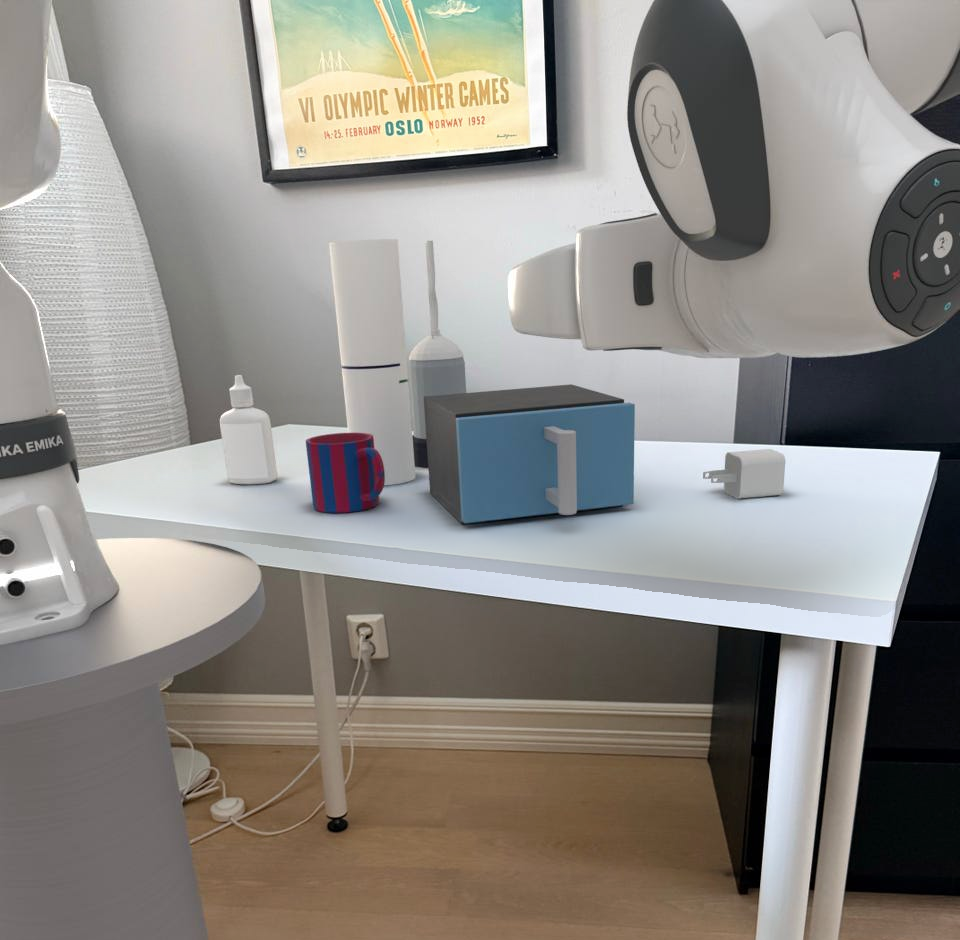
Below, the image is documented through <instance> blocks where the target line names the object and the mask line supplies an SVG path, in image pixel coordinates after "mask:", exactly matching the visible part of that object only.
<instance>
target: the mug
mask: <svg viewBox="0 0 960 940" xmlns="http://www.w3.org/2000/svg"><path fill="white" fill-rule="evenodd" d="M305 448H306V456H307V465H308V466H307V467H308V473H309V482H310V491H311V499H312V507H313V509H314V510H315V511H318V512H321V513H329V514H330V513H331V514H332V513H333V514H341V513H342V514H343V513H353V512H359V511H360V512H361V511H364V510H369V509H372V508H374V507H376V506H377V505H379V504H380V495H381V494H382V492H383V490H384V488H385V485H384V482H385V472H384V465H383V461H382V458H381V456H380V454H379V452H378V451H377V450H376V449H374V439H373V435H371V434H367V433H348V432H336V433H327V434H321V435H315V436H312V437H309V438H307V439H306V440H305Z"/></svg>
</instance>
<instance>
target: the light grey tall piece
mask: <svg viewBox="0 0 960 940" xmlns="http://www.w3.org/2000/svg"><path fill="white" fill-rule="evenodd" d="M434 250H435V249H434V241H433V240H426V242H425V255H426V269H427V271H426V272H427V294H428V304H429V318H430V329H429V334H428V335H427V336H426V337H425V338H424V339H422V340H420V341H419V342H418V343H417V344H416V345H415V346H414V347H413V349H411V352H410V353H409V356H408V365H407V368H408V381H409V394H410V408H411V421H412V437H413V450H414V463H415V467H418V468H428V455H427V441H426V426H425V412H424V397H425V396H437V395H449V394H461V393H467V379H466V363H465V358H464V353H463V352H462V350H461V348H460V347H459V346H458V345H457V344H456V343H455V342H454V341H452V340H451V339H449V338H447V337H445V336H444V335H442V333H441V331H440V329H439V305H438V298H437V293H436V292H437V291H436V266H435V265H436V264H435V251H434Z"/></svg>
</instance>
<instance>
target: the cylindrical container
mask: <svg viewBox="0 0 960 940" xmlns="http://www.w3.org/2000/svg"><path fill="white" fill-rule="evenodd" d="M328 248H329V257H330V267H331V277H332V288H333V297H334V307H335V316H336V326H337V327H336V328H337V337H338V347H339V355H340V365H341V366H342V367H341V378H342V386H343V394H344V395H343V396H344V405H345V406H344V407H345V417H346V424H347V425H346V426H347V433H367V434H371V435H373V439H374V449H376V450H377V451H378V452H379V454H380V456H381V458H382V461H383V465H384V472H385V482H384V486H394V485H400V484H405V483H408V482H411V481H414V480H415V479H416V466H415V463H414V450H413V437H412V436H413V422H412V409H411V396H410V383H409V370H408V361H407V360H408V359H407V346H406V345H407V344H406V334H405V332H406V331H405V321H404V320H405V319H404V308H403V294H402V293H403V292H402V282H401V281H402V280H401V279H402V278H401V268H400V267H401V266H400V255H399V254H400V253H399V241H398V239H395V238H393V239H392V238H391V239H390V238H388V239H385V238H383V239H361V240H359V239H358V240H348V241H347V240H343V241H333V242H329V243H328Z"/></svg>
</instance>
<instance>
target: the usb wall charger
mask: <svg viewBox="0 0 960 940" xmlns="http://www.w3.org/2000/svg"><path fill="white" fill-rule="evenodd" d="M724 457H725V458H724V469H717V470H707V471H703V472H702V479H705V480H706V479H707V480H708V479H709V480H710V483H711V484H722V483H723V488H724V489H723V490H724V492H725V493H726V494H728V495H730V496H731V497H733V498H735V499H736V500H737V499H749V498H761V497H763V498H764V497H773V496H782V494H783V492H784V486H785V485H784V484H785V472H786V457H785V454H784V453H782V452H779V451H778V450H774V449H772V448H765V449H764V448H763V449H753V450H741V451H740V450H739V451H729V452H726V454H725V456H724ZM707 474H708V476H706V475H707ZM715 479H716V481H714V480H715Z"/></svg>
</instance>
